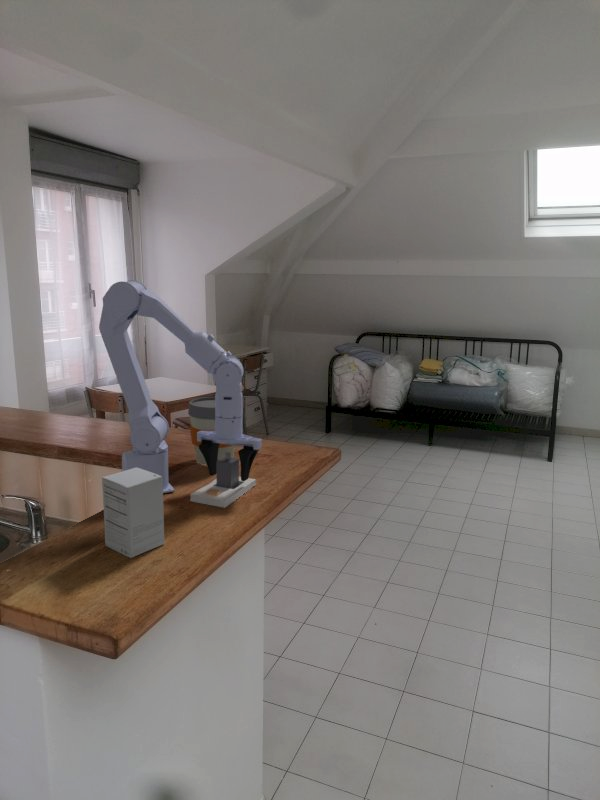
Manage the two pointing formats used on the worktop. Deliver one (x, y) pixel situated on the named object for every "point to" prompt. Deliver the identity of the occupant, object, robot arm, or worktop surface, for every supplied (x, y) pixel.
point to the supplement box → (133, 511)
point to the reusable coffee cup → (205, 425)
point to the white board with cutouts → (221, 493)
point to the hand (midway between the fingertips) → (228, 477)
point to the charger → (227, 472)
